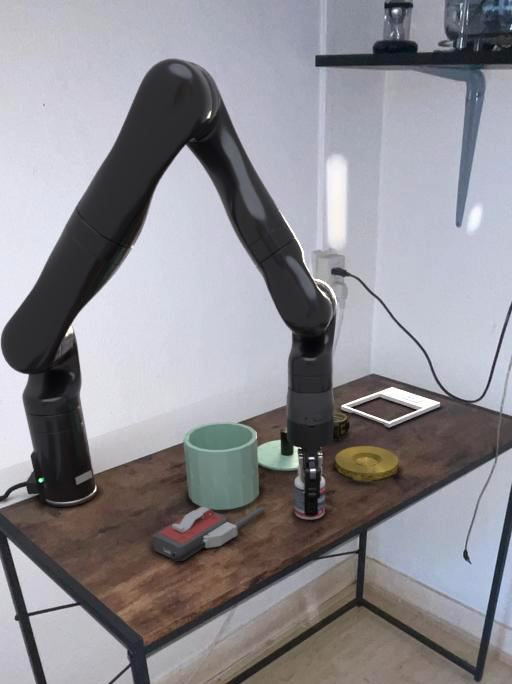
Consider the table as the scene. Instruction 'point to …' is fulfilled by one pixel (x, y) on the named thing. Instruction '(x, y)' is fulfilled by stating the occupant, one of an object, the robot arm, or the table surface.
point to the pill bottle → (300, 498)
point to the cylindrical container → (222, 465)
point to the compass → (366, 463)
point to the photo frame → (398, 397)
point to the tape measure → (340, 424)
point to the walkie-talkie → (197, 533)
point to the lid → (279, 454)
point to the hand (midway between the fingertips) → (309, 505)
